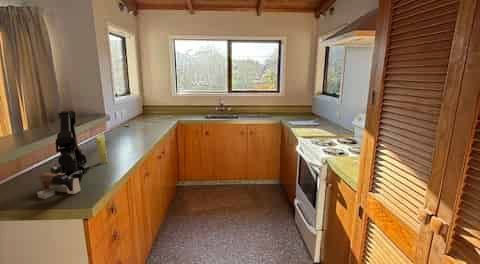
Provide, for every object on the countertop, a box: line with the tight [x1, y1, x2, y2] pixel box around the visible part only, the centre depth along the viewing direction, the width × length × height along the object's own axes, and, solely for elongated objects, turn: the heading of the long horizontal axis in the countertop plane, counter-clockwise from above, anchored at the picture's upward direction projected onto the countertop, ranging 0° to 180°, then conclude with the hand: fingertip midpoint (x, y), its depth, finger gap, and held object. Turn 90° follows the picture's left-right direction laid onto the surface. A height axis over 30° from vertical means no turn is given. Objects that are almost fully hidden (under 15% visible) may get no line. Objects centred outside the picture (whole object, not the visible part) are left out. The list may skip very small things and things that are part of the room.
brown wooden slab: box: [39, 170, 83, 191], centre depth 143 cm, size 14×12×8 cm
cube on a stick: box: [49, 178, 81, 195], centre depth 136 cm, size 4×16×7 cm, turn 78°
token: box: [36, 188, 56, 200], centre depth 132 cm, size 5×5×3 cm
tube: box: [94, 133, 109, 164], centre depth 177 cm, size 6×5×20 cm
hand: (74, 189), depth 135 cm, fingers closed on cube on a stick, 4 cm apart
